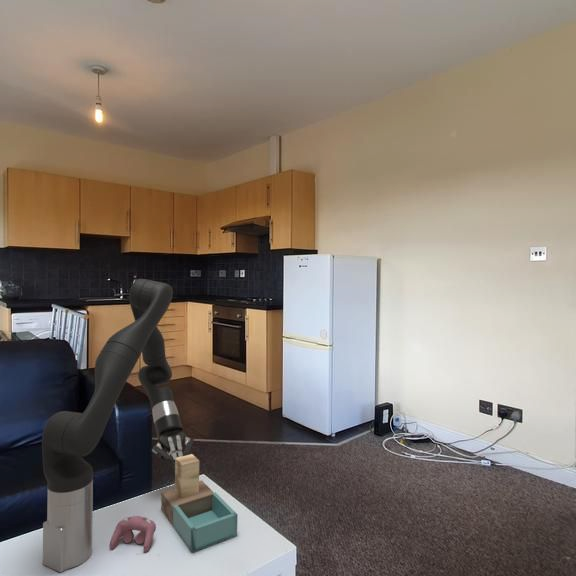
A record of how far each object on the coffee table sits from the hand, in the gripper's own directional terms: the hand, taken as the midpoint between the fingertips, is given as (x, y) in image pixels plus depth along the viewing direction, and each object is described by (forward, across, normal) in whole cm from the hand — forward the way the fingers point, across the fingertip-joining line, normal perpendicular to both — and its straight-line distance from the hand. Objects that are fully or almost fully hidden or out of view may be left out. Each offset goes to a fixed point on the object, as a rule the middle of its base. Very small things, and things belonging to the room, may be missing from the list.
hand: (180, 473), depth 120 cm
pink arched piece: (+14, -16, -2) cm, 22 cm away
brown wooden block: (+10, 0, +2) cm, 10 cm away
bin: (+18, 0, -6) cm, 18 cm away
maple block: (+6, 0, -1) cm, 6 cm away
